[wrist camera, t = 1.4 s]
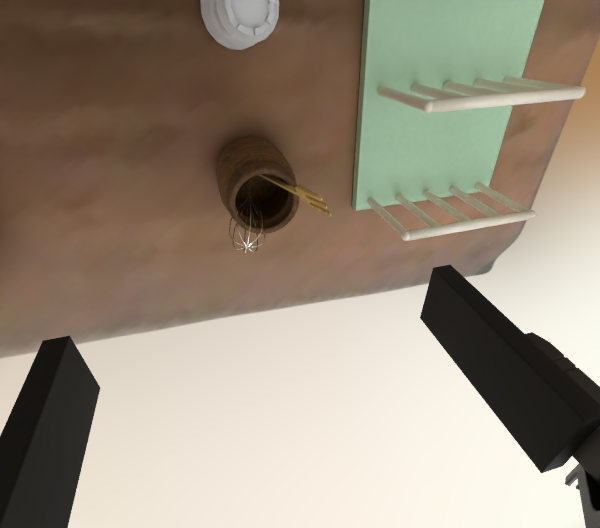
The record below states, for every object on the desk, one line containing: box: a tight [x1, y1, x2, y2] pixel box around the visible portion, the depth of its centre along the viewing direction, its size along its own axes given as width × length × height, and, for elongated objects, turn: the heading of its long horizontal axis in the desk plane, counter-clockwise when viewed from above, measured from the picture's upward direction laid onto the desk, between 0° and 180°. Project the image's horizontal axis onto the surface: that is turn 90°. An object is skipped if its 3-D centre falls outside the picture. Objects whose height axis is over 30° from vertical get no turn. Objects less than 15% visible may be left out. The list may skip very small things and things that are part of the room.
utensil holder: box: [217, 137, 332, 253], centre depth 25 cm, size 6×6×12 cm
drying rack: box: [352, 0, 586, 241], centre depth 27 cm, size 20×15×8 cm
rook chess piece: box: [201, 0, 279, 50], centre depth 20 cm, size 4×4×8 cm
